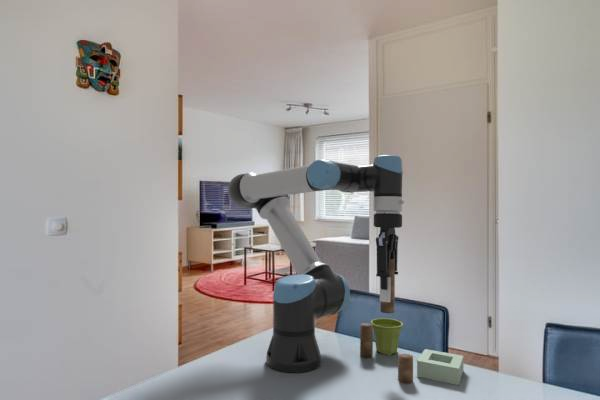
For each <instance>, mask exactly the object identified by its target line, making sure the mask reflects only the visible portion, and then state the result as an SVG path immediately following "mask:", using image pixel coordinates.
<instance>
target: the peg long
mask: <svg viewBox="0 0 600 400" xmlns="http://www.w3.org/2000/svg"><path fill="white" fill-rule="evenodd" d="M394 265H395V259H390V272H389V277H391V298H390V303H389V302H381V301H380V312H381V313H383V314H393V313H395V299H394V275H395V274H394Z"/></svg>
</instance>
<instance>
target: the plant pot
mask: <svg viewBox="0 0 600 400" xmlns="http://www.w3.org/2000/svg"><path fill="white" fill-rule="evenodd" d="M370 324H372V325H373V336H374V341H375V349H376V352H379V353H380V354H382V355H383V354H384V355H389V356H390V355H393V354H397V352H398V347H399V345H398V344H399V340H400V334H401V330H402V327H403V325H404V324H403V322H402V321H400V320H397V319H394V318H386V317H385V318H374V319H372V320H371V321H370Z"/></svg>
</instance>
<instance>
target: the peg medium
mask: <svg viewBox="0 0 600 400" xmlns="http://www.w3.org/2000/svg"><path fill="white" fill-rule="evenodd" d="M359 326H360V329H359V330H360V331H359V332H360V337H359V338H360V339H359V340H360V342H359V349H360V350H359V357H361V358H363V359H372V358H373V355H374V354H373V353H374V352H373V346H374V344H373V342H374V339H373V338H374V329H373V325H372V324H371V323H367V322H365V323H360V324H359Z"/></svg>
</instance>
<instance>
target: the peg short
mask: <svg viewBox="0 0 600 400" xmlns="http://www.w3.org/2000/svg"><path fill="white" fill-rule="evenodd" d="M397 356H398V358H397V360H398V361H397V365H398V366H397V381H398V382H400V383H402V384H406V385H407V384H408V385H410V384H413V382H414V356H413V355H411V354H410V353H399V354H398V355H397Z"/></svg>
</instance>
